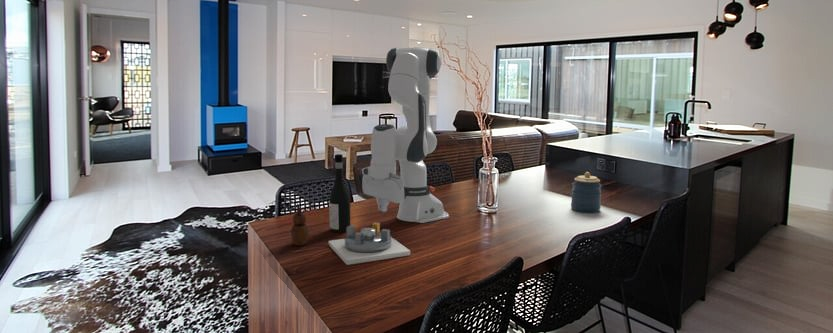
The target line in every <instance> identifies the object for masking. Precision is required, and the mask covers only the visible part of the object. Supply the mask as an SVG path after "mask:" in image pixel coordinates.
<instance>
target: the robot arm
mask: <svg viewBox="0 0 833 333" xmlns="http://www.w3.org/2000/svg"><path fill="white" fill-rule="evenodd" d="M385 64H386V68H387V71H388V72H389V73H390V74H389V78H388V83H387V85H388V86H387V87H388V88H387V90H388V93H389V97H390V98H391V99H392V100H393V101H394V102H395V103H397V104H399V105H401V106H402V108H401V109H402V114H403V116H404V118H405V121H406V125H405V126H401V127H398V128H395V127H396V126H394V125H393V124H389V123H388V124H387V123H384V124H377V125H375V126H374V127H373V128H372V132H371V139H370V153H371V159H370V165H369V166H367V167H363V168H362V169H361V173H362V181H361V182H362V184H361V187H362V192H363V195H368V196H370V197H372V198H373V197H374V198H375V201H376V203H377V210H378V211H380V212H383V213H385V212H387V211H388V206H389V204H390V203H394V204H399V207H398V212H397V215H396V218H397V219H398V220H399V221H404V222H410V223H420V224H424V223H429V222H434V221H439V220H444V219H448V218H450V215H449V213H448V212H447V211H445V210H444V205H443V202H442V201H441V200H440V199H438V198H437V197H436V196H434V195H433V194H432V192H434V191H435V187H434V186H429V185H427V177H428V176H427V174H428V173H427V166H426V164H425V162H424V161H423V160H424V159H425V158H426V157H427V156H428V155H429V154H432V153H433V152H434V151H435V150H436V147H437V145H438V139H437V137H436V134H435V133H434V131H433V128H432V125H431V118H430V98H431V97H430V95H431V94H430V93H431V82H430V80H432V79H433V77H435V76H436V75H437V74H439V72H440V70H441V67H442V57H441V53H440V52H439V50H437V49H434V48H430V47H429V48H427V47H426V48H425V47H417V46H416V47H414V46H413V47H393V48H391V49H390V50H389V51H388V52H387V54H386V58H385ZM397 161H398V162H399V167H400V168H399V169H400V175H399V174H397Z"/></svg>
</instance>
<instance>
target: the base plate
mask: <svg viewBox="0 0 833 333" xmlns="http://www.w3.org/2000/svg"><path fill="white" fill-rule="evenodd" d="M328 246H329V247H330V248H331V249H332V250H333V252H335V253H336V255H337V256H338V257H339V258H340V260H342V261H343V262H344V263H345V265H347V266H348V265H349V266H350V265H356V264H361V263H368V262H374V261H375V262H376V261H381V260H389V259H393V258H400V257H407V256H411V250H410V249H409V248H407V247H406V246H404V245H403V244H401V243H400V242H399V241H398V240H396V239H395V238H393V237H392V236H391V247H390V248H388V249H386V250H384V251H380V252H373V253H359V252H353V251H350V250H348V249H346V248H345V238H340V239H331V240H328Z"/></svg>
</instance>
